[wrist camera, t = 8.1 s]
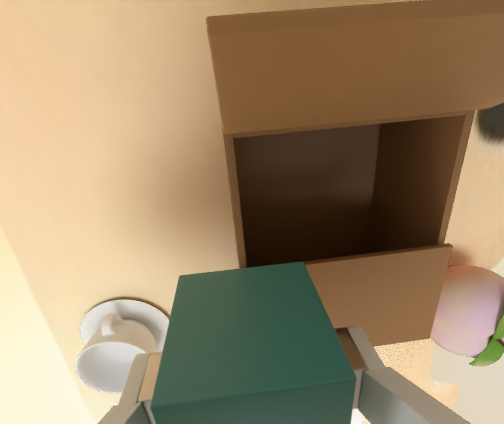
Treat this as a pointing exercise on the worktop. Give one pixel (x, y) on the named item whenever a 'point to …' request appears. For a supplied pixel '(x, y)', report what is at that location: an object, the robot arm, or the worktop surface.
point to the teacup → (117, 342)
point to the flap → (356, 63)
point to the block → (252, 352)
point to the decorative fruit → (471, 314)
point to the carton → (354, 213)
